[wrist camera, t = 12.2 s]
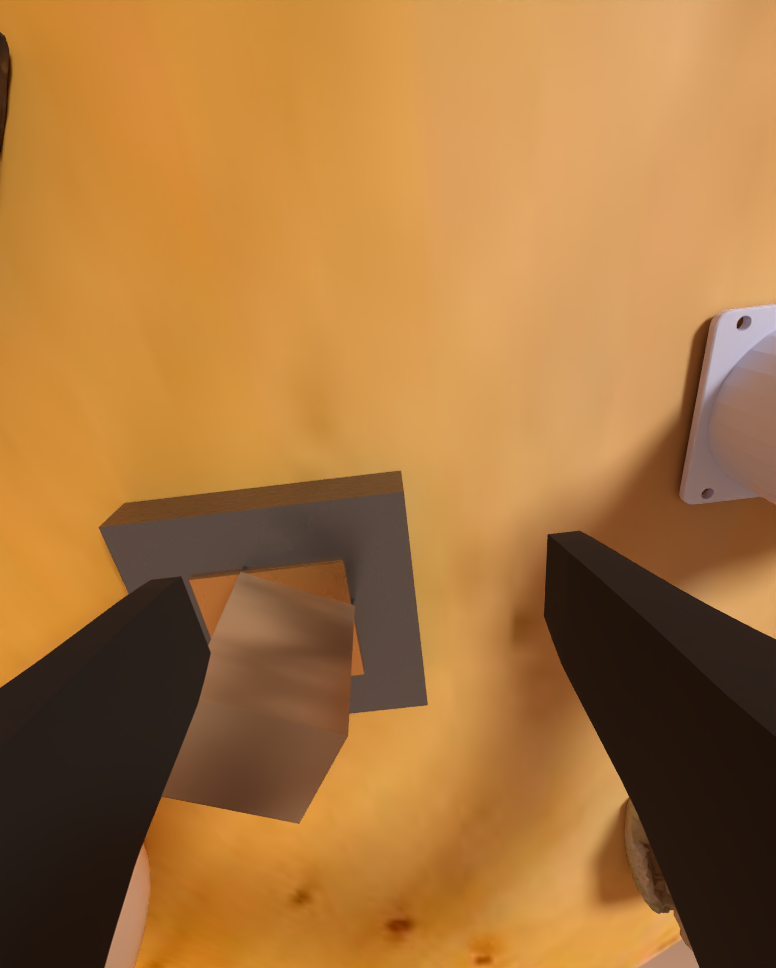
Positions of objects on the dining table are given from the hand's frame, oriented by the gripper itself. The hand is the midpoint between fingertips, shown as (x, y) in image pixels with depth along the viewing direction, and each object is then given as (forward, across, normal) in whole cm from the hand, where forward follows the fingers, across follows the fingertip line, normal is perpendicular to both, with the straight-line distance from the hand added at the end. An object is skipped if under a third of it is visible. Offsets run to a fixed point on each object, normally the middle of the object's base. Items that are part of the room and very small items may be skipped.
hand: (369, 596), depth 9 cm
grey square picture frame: (+10, +5, +8) cm, 14 cm away
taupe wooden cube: (+8, +5, +8) cm, 13 cm away
